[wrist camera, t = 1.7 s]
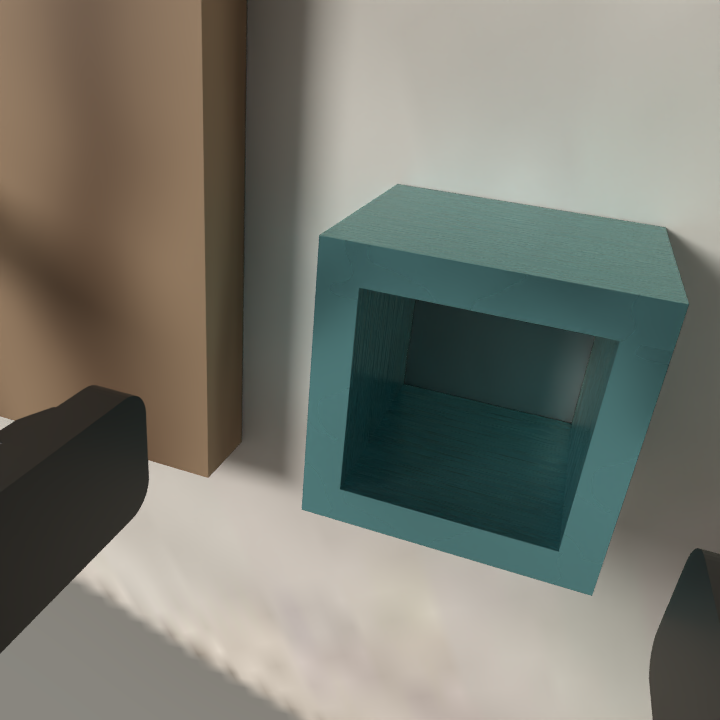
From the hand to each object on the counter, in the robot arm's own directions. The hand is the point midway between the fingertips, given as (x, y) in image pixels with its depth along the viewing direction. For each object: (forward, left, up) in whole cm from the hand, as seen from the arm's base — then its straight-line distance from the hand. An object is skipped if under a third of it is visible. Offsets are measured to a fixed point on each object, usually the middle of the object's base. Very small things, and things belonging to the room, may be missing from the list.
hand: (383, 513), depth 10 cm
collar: (-1, 0, -8) cm, 8 cm away
